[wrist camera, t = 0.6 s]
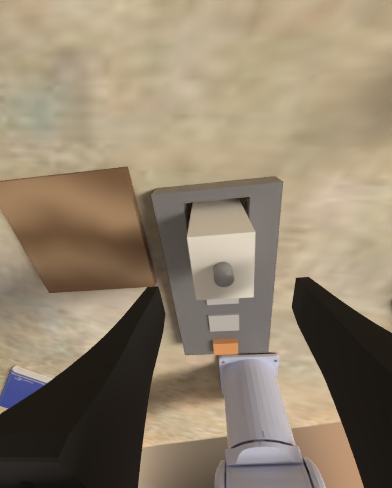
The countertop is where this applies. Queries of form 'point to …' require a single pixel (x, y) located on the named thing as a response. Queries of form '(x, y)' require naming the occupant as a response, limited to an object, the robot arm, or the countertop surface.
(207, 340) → the power strip
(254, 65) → the countertop surface
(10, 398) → the hard drive
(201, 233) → the block
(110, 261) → the coaster
